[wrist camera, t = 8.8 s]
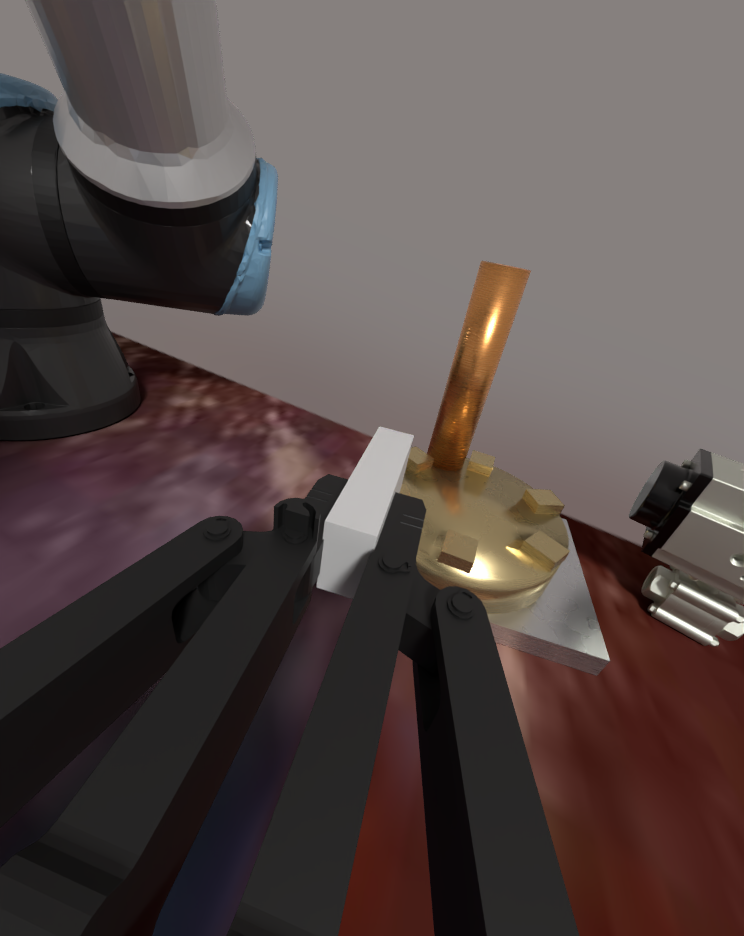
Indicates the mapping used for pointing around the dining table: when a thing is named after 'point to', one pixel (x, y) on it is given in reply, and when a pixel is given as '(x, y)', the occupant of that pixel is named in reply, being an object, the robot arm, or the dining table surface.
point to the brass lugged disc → (482, 474)
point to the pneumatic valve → (695, 546)
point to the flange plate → (557, 621)
